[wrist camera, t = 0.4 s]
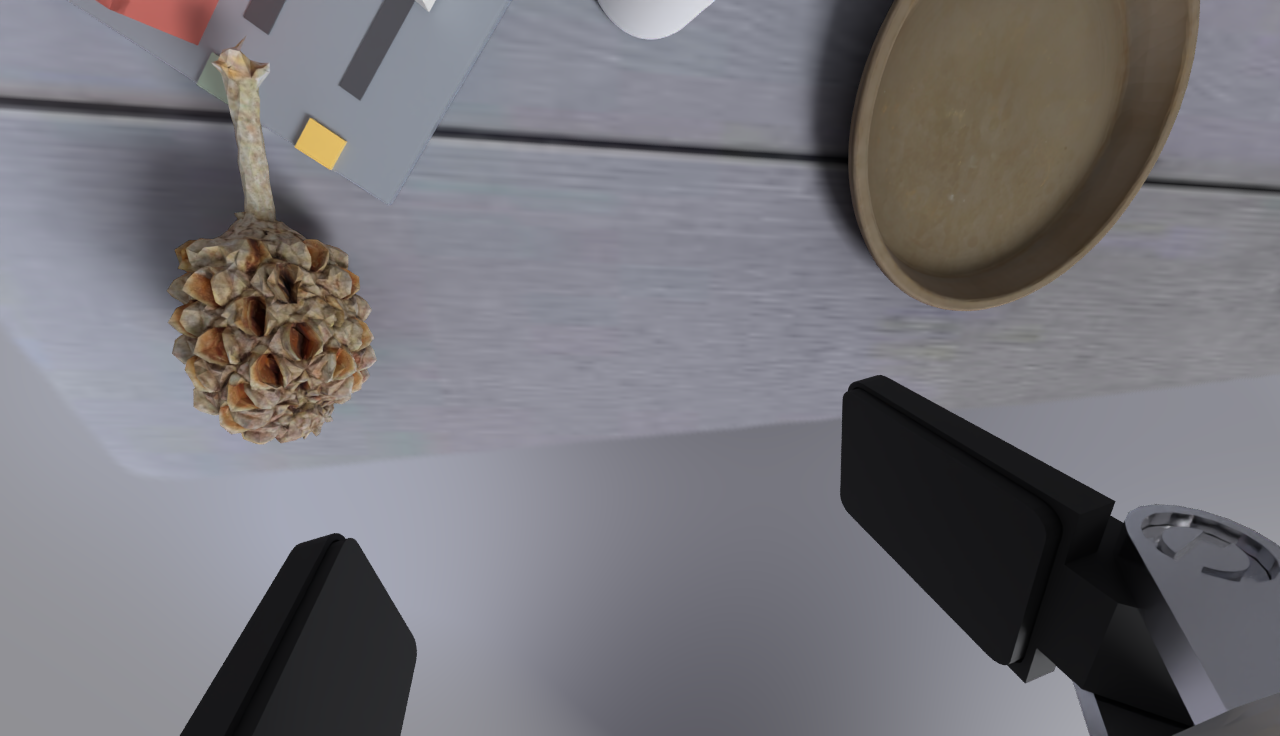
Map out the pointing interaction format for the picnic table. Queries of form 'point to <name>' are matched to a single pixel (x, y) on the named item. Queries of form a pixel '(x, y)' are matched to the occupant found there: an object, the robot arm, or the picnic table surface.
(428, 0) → the breaker toggle
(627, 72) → the picnic table surface
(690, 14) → the pill bottle
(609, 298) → the picnic table surface
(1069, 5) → the plant saucer
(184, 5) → the cap
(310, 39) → the breaker panel
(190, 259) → the pine cone
